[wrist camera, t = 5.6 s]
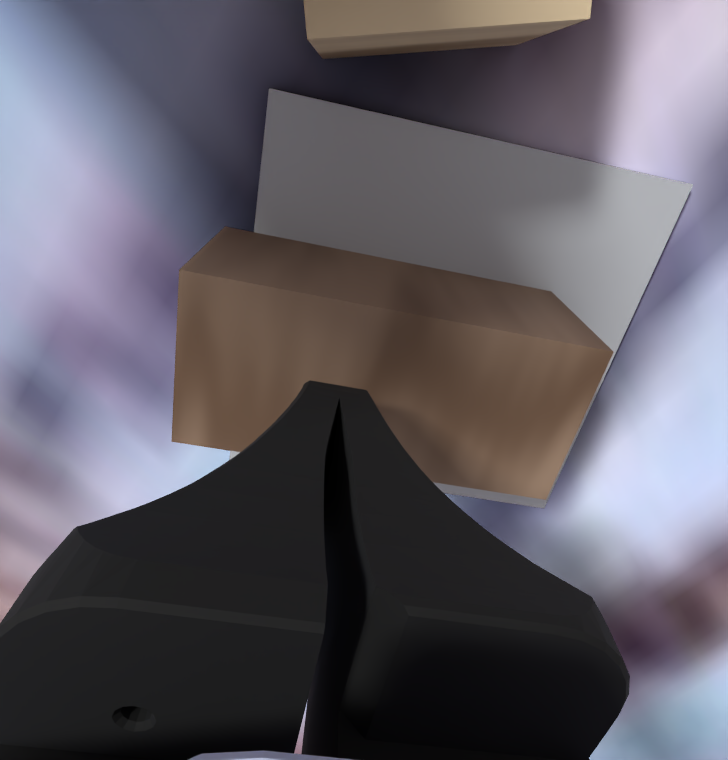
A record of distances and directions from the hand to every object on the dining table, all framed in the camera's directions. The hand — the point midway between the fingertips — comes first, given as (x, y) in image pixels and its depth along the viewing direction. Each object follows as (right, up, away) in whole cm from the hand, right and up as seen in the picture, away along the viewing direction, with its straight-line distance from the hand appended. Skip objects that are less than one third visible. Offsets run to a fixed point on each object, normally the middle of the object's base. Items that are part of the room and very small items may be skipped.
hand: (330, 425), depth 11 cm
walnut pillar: (-4, +2, +3) cm, 5 cm away
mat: (+3, +2, +6) cm, 7 cm away
